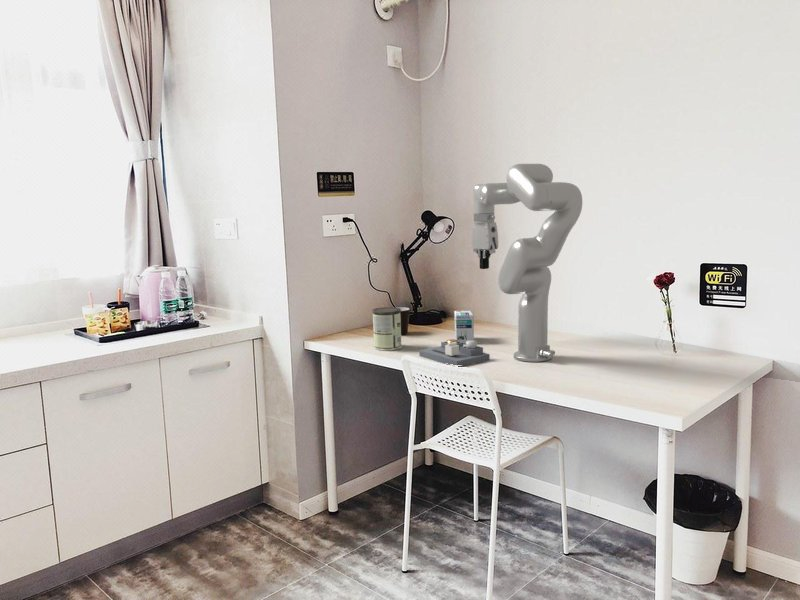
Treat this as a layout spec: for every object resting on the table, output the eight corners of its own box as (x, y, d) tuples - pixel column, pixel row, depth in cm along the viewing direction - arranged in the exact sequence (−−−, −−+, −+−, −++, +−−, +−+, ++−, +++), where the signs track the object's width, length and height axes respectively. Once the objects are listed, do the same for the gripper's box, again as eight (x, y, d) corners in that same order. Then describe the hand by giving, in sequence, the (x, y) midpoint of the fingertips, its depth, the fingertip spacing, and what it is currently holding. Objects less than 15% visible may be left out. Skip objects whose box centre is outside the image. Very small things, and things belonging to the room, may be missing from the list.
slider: (459, 354, 221) (458, 343, 220) (451, 355, 219) (451, 344, 219) (452, 352, 224) (452, 341, 223) (445, 354, 222) (445, 342, 221)
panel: (489, 360, 222) (489, 348, 222) (457, 367, 214) (456, 355, 214) (450, 349, 239) (450, 338, 238) (419, 355, 231) (419, 344, 230)
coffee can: (374, 344, 250) (373, 307, 248) (401, 344, 250) (401, 306, 247) (372, 351, 240) (371, 312, 238) (401, 350, 239) (400, 311, 237)
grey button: (479, 349, 224) (479, 341, 223) (470, 350, 221) (470, 343, 221) (471, 347, 226) (471, 339, 226) (463, 349, 224) (463, 341, 224)
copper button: (459, 347, 232) (459, 340, 231) (451, 349, 230) (451, 342, 229) (452, 346, 235) (452, 338, 234) (444, 347, 233) (444, 340, 232)
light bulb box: (474, 343, 247) (474, 315, 245) (456, 344, 247) (455, 315, 246) (471, 337, 258) (471, 310, 256) (454, 338, 258) (453, 310, 256)
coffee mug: (393, 331, 274) (392, 307, 272) (413, 332, 271) (412, 307, 269) (382, 337, 263) (382, 311, 261) (403, 338, 260) (402, 312, 258)
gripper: (506, 218, 241) (506, 269, 244) (477, 217, 253) (478, 266, 256) (490, 219, 236) (490, 271, 239) (462, 218, 248) (463, 268, 251)
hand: (484, 268), depth 247 cm, fingers closed
